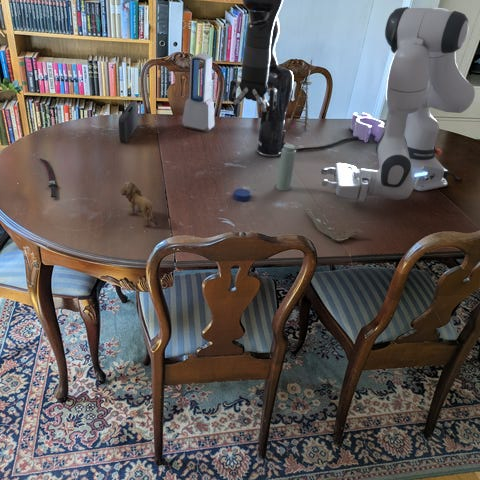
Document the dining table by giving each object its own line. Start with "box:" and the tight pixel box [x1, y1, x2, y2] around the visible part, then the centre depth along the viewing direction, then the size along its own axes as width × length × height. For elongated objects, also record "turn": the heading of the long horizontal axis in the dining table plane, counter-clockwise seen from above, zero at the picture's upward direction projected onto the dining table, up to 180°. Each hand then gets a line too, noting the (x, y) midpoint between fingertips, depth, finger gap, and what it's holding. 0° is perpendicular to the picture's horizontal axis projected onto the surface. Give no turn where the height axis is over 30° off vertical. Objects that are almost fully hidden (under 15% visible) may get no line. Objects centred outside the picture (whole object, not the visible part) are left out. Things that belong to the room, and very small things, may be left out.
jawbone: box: [303, 208, 364, 243], centre depth 139 cm, size 9×20×2 cm, turn 50°
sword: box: [40, 158, 59, 198], centre depth 151 cm, size 31×3×1 cm, turn 26°
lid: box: [232, 188, 251, 202], centre depth 152 cm, size 5×5×2 cm
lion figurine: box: [119, 181, 159, 227], centre depth 134 cm, size 15×5×9 cm, turn 50°
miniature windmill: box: [288, 59, 313, 132], centre depth 208 cm, size 9×8×30 cm
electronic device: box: [181, 53, 216, 133], centre depth 194 cm, size 12×8×30 cm, turn 71°
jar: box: [276, 143, 297, 192], centre depth 157 cm, size 5×5×15 cm
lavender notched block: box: [349, 112, 385, 143], centre depth 214 cm, size 20×12×7 cm, turn 11°
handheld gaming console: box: [117, 101, 139, 143], centre depth 187 cm, size 23×3×10 cm, turn 178°
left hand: (250, 119), depth 138 cm, fingers open, 8 cm apart
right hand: (321, 176), depth 157 cm, fingers open, 8 cm apart
